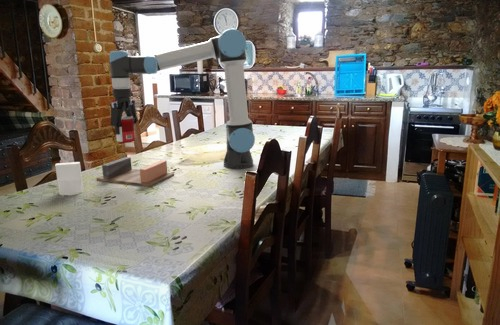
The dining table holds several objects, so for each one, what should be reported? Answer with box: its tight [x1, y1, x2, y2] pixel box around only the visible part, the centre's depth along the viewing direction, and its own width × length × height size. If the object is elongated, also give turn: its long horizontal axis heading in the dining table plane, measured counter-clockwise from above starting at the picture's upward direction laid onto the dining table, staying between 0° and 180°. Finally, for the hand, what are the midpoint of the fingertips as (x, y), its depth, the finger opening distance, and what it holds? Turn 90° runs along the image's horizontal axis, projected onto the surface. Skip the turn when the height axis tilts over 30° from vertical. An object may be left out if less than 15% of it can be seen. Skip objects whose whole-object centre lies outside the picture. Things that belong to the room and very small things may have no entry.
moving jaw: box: [139, 159, 168, 183], centre depth 166 cm, size 3×16×6 cm, turn 160°
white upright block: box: [54, 161, 84, 196], centre depth 151 cm, size 9×9×12 cm
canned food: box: [117, 115, 136, 144], centre depth 166 cm, size 8×8×11 cm
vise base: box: [96, 156, 175, 188], centre depth 170 cm, size 29×18×7 cm, turn 70°
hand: (126, 139), depth 167 cm, fingers closed on canned food, 8 cm apart
